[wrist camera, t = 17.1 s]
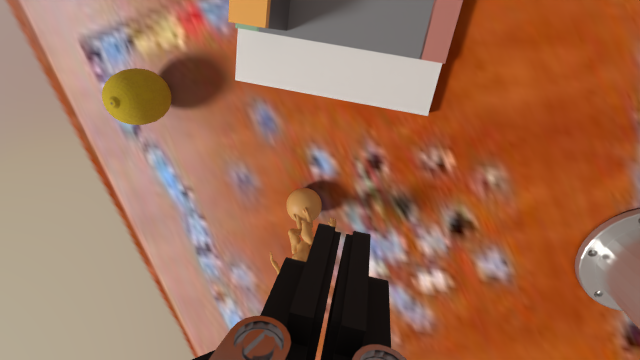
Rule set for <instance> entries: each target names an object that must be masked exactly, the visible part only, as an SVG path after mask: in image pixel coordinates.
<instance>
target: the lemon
mask: <svg viewBox="0 0 640 360" xmlns="http://www.w3.org/2000/svg"><path fill="white" fill-rule="evenodd" d="M102 99H103V103H104V106H105V107H106V109H107V111H108V112H109V113H110V114H111V115H112V116H113V117H114V118H116V119H117V120H119V121H121V122H124V123H127V124H133V125H143V124H148V123H152V122H155V121H157V120H158V119H160V118H161V117H163V116H164V115H165V114H166V112H167V111H168V110H169V107H170V105H171V92H170V89H169V87H168V85H167V83H166V82H165V81H164V80H163V79H162V78H161V77H160V76H159V75H157V74H156V73H154V72H151V71H149V70H145V69H137V68H135V69H127V70H123V71H121V72H119V73H117V74H115V75H113V76H112V77H110V78H109V80H108V81H107V82H106V83H105V85H104V87H103V91H102Z"/></svg>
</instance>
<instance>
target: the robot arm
mask: <svg viewBox="0 0 640 360" xmlns="http://www.w3.org/2000/svg"><path fill="white" fill-rule="evenodd" d="M340 235H341V233H340V232H336V231H335V227H334V226H329V225H325V224H320V223H319V225H318V228H317V231H316V234H315V237H314V240H313V243H312V246H311V249H310V252H309V255H308V258H307V261H306V262H305V261H300V260H296V259H292V258H286V259H285V260H284V263H283V265H282V267H281V269H280V272H279V274H278V276H277V279H276V281H275V283H274V285H273V288H272V290H271V292H270V295H269V297H268V299H267V301H266V304H265V306H264V308H263V311H262V313H261V315H260V316H253V317H249V318H245V319H243V320H242V321H240V322H238V323H237V324H236V325H235V326H234V327H233V328H232V329H231V330H230V331H229V333H228V334H227V335H226V337H225V338H224V339H223V341H222V342H221V343H220V345H219V346H218V347H217V349H216V350H214V351H212V352H209V353H207V354H205V355H202V356H200V357H197V358H195V359H192V360H315V357H316V352H317V347H318V343H319V338H320V333H321V328H322V323H323V319H324V314H325V309H326V304H327V299H328V294H329V289H330V284H331V279H332V274H333V270H334V265H335V260H336V255H337V250H338V245H339V240H340ZM369 257H370V234H366V233H361V232H357V231H354V232H353V235H349V234H346V237H345V242H344V246H343V251H342V256H341V260H340V265H339V270H338V274H337V279H336V283H335V288H334V293H333V297H332V302H331V307H330V312H329V317H328V323H327V328H326V334H325V339H324V344H323V350H322V355H321V360H406V358H405V357H403V356H402V355H401V354H400V353H399V352H397V351H395V350H393V349H391V334H390V308H389V284H388V281H387V280H382V279H378V278H374V277H369ZM575 272H576V277H577V279H578V281H579V283H580V285H581V286H582V288H583V289H584V290H585V291H586V293H587V294H588V295H589V296H590V297H591V298H592V299H594V300H595V301H597V302H598V303H600V304H602V305H604V306H607V307H609V308H612V309H616V310H620V311H624V312H625V313H626V314H627V316H628V317H629V318H630V319H631V320H632V321H633V322H634V323H635V324H636V325H637V327H638V328H639V329H640V209H637V210H633V211H629V212H625V213H623V214H620V215H618V216H615V217H613V218H611V219H610V220H608V221H606V222H604V223H603V224H601V225H600V226H599V227H597V228H596V229H595V230H594V231H592V232H591V234H590V235H589V236H588V237H587V238H586V239H585V240H584V242H583V243H582V245H581V247H580V248H579V250H578V253H577V256H576V260H575Z"/></svg>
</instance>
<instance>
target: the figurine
mask: <svg viewBox="0 0 640 360" xmlns="http://www.w3.org/2000/svg"><path fill="white" fill-rule="evenodd" d="M321 208H322V203H321V199H320V197H319V195H318V194H317V193H316V192H315V191H313V190H311V189H309V188H300V189H297V190H295V191H294V192H292V193H291V195H290V196H289V198H288V200H287V211H288V213H289V215H290V217H291V218H292V219H294V220H295V221H296V222H297V226H298V229H290V230H289V231H288V234H289V236H290V241H291V244H292V253H293V254H294V255H293V257H292V259H296V260H300V261H305V262H306V261H307V258H308V255H309V252H310V246H311V245H312V243H313V240H314V237H313V232H312V229H311V228H312V227H313V222H312V221H313V220H315V219H316V218H317V217H318V215H319V214H320V212H321ZM330 220H331V223H330V222H328V223H329V224H330V225H331V226H334V227H336V219H335V221H334V218H333V221H332V219H331V218H330ZM301 223H302V224H301ZM300 234H301V236H302V238H303V239H304V241H301V240H300V237H299V236H298V235H300ZM270 259H271V262H272V265H273V267H274V268H275V269H276V271H277V273H278V274H279V272H280V268H279V266H278V264H277V263H276V262H275V261H274V260H273V257H272V253H271V251H270Z"/></svg>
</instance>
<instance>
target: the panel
mask: <svg viewBox="0 0 640 360" xmlns="http://www.w3.org/2000/svg"><path fill="white" fill-rule="evenodd" d="M462 2H463V0H290V7H289V16H288V26H287V31H284V30H276V29H269V28H262V27H256V26H250V25H245V24H239V23H236V26H235V28H238V39H237V57H236V75H235V80H238V81H243V82H249V83H254V84H259V85H265V86H270V87H275V88H281V89H286V90H292V91H297V92H302V93H308V94H313V95H318V96H324V97H329V98H334V99H340V100H345V101H351V102H356V103H361V104H367V105H372V106H377V107H383V108H388V109H394V110H399V111H404V112H410V113H415V114H420V115H426V116H428V113H429V109H430V106H431V102H432V99H433V95H434V92H435V88H436V84H437V81H438V77H439V74H440V70H441V67H442V63H443V64H445V62H446V58H447V55H448V51H449V48H450V44H451V41H452V37H453V34H454V30H455V27H456V23H457V20H458V16H459V13H460V9H461V6H462Z"/></svg>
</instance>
